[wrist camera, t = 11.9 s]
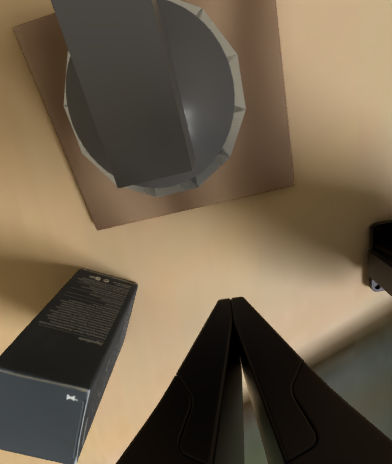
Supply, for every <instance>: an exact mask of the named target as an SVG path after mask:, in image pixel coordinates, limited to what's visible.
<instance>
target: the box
mask: <svg viewBox="0 0 392 464" xmlns="http://www.w3.org/2000/svg"><path fill="white" fill-rule="evenodd" d="M137 287H138V285H137V284H136V283H132V282H128V281H125V280H122V279H118V278H115V277H111V276H108V275H104V274H100V273H97V272H93V271H89V270H86V269H80V270H78V271H77V273H76V274H75V275H74V276H73V277H72V278H71V279H70V280H69V281H68V282H67V283H66V284H65V286H64V287H63V288H62V289H61V290H60V291H59V292H58V293H57V294H56V295H55V297H54V298H53V299H52V300H51V301H50V302H49V303H48V304H47V305H46V306H45V307H44V308H43V310H42V311H41V312H40V313H39V314H38V315H37V316H36V317H35V318H34V319H33V320H32V321H31V323H30V324H29V325H28V326H27V327H26V328H25V329H24V330H23V331H22V332H21V333H20V334H19V336H18V337H17V338H16V339H15V340H14V341H13V343H12V344H11V345H10V346H9V347H8V348H7V349H6V350H5V351H4V352H3V353H2V354H1V356H0V449H1V450H5V451H9V452H14V453H19V454H23V455H27V456H32V457H36V458H41V459H45V460H50V461H55V462H59V463H63V464H76V463H77V462H78V458H79V455H80V453H81V450H82V448H83V445H84V442H85V440H86V437H87V434H88V432H89V429H90V427H91V424H92V422H93V419H94V416H95V414H96V411H97V409H98V406H99V404H100V401H101V399H102V396H103V393H104V391H105V388H106V385H107V383H108V380H109V378H110V375H111V373H112V370H113V368H114V365H115V362H116V360H117V357H118V355H119V352H120V350H121V347H122V345H123V342H124V339H125V335H126V331H127V327H128V323H129V319H130V315H131V311H132V307H133V303H134V299H135V295H136V291H137Z"/></svg>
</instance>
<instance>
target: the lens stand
mask: <svg viewBox="0 0 392 464" xmlns="http://www.w3.org/2000/svg"><path fill="white" fill-rule="evenodd" d="M181 1H184V2H186V3H189V4H192V5H195V6H198V7H201V8H203V10H204V11H205V12H206V14H207V15H208V16H209V18H210V19H211V20H212V22H213V23H214V24H215V26H216V27H217V28H218V29H219V31H220V32H221V33H222V35H223V36H224V37H225V39H226V40H227V41H228V43H229V44H230V45H231V47H232V48H233V49H234V51H235V52H236V53H237V54H238V62H239V68H240V75H241V81H242V87H243V94H244V100H245V107H246V111H245V114H244V117H243V120H242V123H241V126H240V129H239V132H238V135H237V138H236V141H235V144H234V147H233V150H232V153H231V156H230V158H229V159H228V160H227V161H226V162H225V163H223V164H222V165H221V166H220V167H219V168H218V169H217V170H216V171H215V172H214V173H213V174H212V175H211V176H210V177H209V178H208V179H207V180H205V181H204V182H203V183H202V184H201V185H200V186H199V187H198V188H194V189H190V190H186V191H182V192H178V193H173V194H169V195H165V196H161V197H155V196H151V195H148V194H144V193H141V192H137V191H134V190H130V189H127V188H124V187H123V188H118V187H117V186H116V185H115V184H114V183H113V182H112V181H111V180H110V179H109V178H108V177H107V176H106V175H105V174H104V173H103V172H102V171H100V170H99V169H98V168H97V167H96V166H95V165H94V164H93V163H92V162H91V161H90V160H89V159H88V158H87V157H86V156H85V155H83V154H82V151H81V149H80V146H79V144H78V141H77V139H76V136H75V134H74V131H73V128H72V126H71V123H70V121H69V118H68V116H67V113H66V111H65V108H64V106H63V105H64V94H65V81H66V69H67V56H68V51H69V50H68V47H67V44H66V41H65V39H64V36H63V33H62V30H61V27H60V25H59V22H58V19H57V16H56V13H53V14H50V15H48V16H45V17H42V18H39V19H36V20H33V21H30V22H27V23H24V24H21V25H19V26H16V27H13V30H14V32H15V35H16V37H17V39H18V42H19V44H20V47H21V49H22V51H23V54H24V56H25V59H26V61H27V63H28V66H29V68H30V71H31V73H32V75H33V78H34V80H35V83H36V85H37V87H38V90H39V92H40V95H41V97H42V99H43V102H44V104H45V107H46V109H47V111H48V114H49V116H50V118H51V121H52V123H53V126H54V128H55V130H56V133H57V135H58V138H59V140H60V142H61V145H62V147H63V150H64V152H65V154H66V157H67V159H68V162H69V164H70V166H71V169H72V171H73V174H74V176H75V178H76V181H77V183H78V186H79V188H80V190H81V193H82V195H83V197H84V200H85V202H86V205H87V207H88V209H89V212H90V214H91V217H92V219H93V221H94V224H95V226H96V229H97V230H101V229H106V228H110V227H115V226H119V225H123V224H128V223H132V222H136V221H141V220H145V219H150V218H154V217H158V216H163V215H167V214H171V213H176V212H180V211H185V210H189V209H193V208H198V207H202V206H207V205H211V204H215V203H220V202H224V201H228V200H233V199H237V198H242V197H246V196H250V195H255V194H259V193H263V192H268V191H272V190H277V189H281V188H285V187H290V186H294V175H293V165H292V155H291V146H290V136H289V126H288V116H287V106H286V96H285V86H284V77H283V67H282V57H281V47H280V37H279V27H278V17H277V7H276V0H181Z"/></svg>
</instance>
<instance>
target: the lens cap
mask: <svg viewBox="0 0 392 464" xmlns="http://www.w3.org/2000/svg"><path fill="white" fill-rule="evenodd" d="M51 2H52V5H53V8H54V11H55V13H56V16H57V19H58V22H59V25H60V27H61V30H62V33H63V36H64V39H65V41H66V44H67V47H68V50H69V53H70V58H69V62H68V66H67V73H66V100H67V106H68V111H69V115H70V118H71V121H72V124H73V127H74V129H75V132H76V134H77V136H78V138H79V140H80V141H81V143H82V145H83V146H84V148H85V149H86V150H87V152H88V153H89V154H90V156H91V157H92V158H93V159H94V160H95V161H96V162H97V163H98V164H99V165H100V166H101V167H102V168H103V169H105V170H106V171H107V172H109V173H110V174H112V175H113V176H114V179H115V182H116V185H117V187H118V188H123V187H127V186H131V185H136V186H140V187H147V188H165V187H171V186H175V185H178V184H181V183H184V182H186V181H188V180H190V179H192V178H194V177H195V176H197V175H198V174H200V173H201V172H202V171H203V170H205V169H206V168H207V167H208V166H209V165H210V164H211V163H212V161H213V160H214V159H215V158H216V156H217V155H218V154H219V152H220V151H221V149H222V147H223V145H224V143H225V141H226V139H227V136H228V134H229V131H230V128H231V124H232V120H233V114H234V106H235V92H234V82H233V77H232V73H231V68H230V66H229V63H228V60H227V57H226V55H225V53H224V51H223V49H222V47H221V45H220V43H219V41H218V40H217V38H216V37H215V35H214V34H213V32H212V31H211V30H210V29H209V28H208V27H207V26H206V24H205V23H204V22H203V21H201V20H200V19H199V18H198V17H197V16H196V15H195V14H193V13H192V12H190V11H189V10H187V9H186V8H184V7H182V6H180V5H178V4H176V3H173V2H171V1H168V0H51Z"/></svg>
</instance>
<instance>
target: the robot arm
mask: <svg viewBox="0 0 392 464" xmlns="http://www.w3.org/2000/svg"><path fill="white" fill-rule="evenodd" d="M377 228H379V230H378V231H376V229H377ZM368 276H369V287H370V288H371V289H372V290H373V291H375V292H378V291H384V290H385V291H386V292H387V293H388V294H390V295H391V296H392V220H388V221H383V222H378V223H375V224H373V225H372V226H371V227H370V245H369V250H368ZM376 285H377V286H376ZM375 286H376V287H375ZM241 364H242V367H241ZM242 369H243V373H244V377H245V380H246V384H247V388H248V391H249V395H250V399H251V402H252V406H253V410H254V413H255V417H256V420H257V424H258V428H259V431H260V435H261V439H262V442H263V446H264V450H265V453H266V457H267V461H268V464H392V441H391V440H390V439H389V438H388V437H387V436H386V435H384V434H383V433H382V432H381V431H380V430H379V429H377V428H376V427H375V426H374V425H373V424H372V423H370V422H369V421H368V420H367V419H366V418H365V417H363V416H362V415H361V414H360V413H359V412H358V411H356V410H355V409H354V408H353V407H352V406H351V405H349V404H348V403H347V402H346V401H345V400H344V399H343V398H342V397H340V396H339V395H338V394H337V393H336V392H335V391H334V390H333V389H331V388H330V387H329V386H328V385H327V384H326V383H325V382H324V381H323V380H322V379H321V378H320V377H319V376H318V375H317V374H316V373H315V372H314V371H313V370H312V369H311V367H310V366H309V365H308V364H307V363H305V362H304V360H303V359H302V358H301V357H300V356H299V355H298V354H297V353H296V352H295V351H294V350H293V349H292V348H291V347H290V346H289V345H288V343H287V342H286V341H285V340H284V339H283V338H282V337H281V336H280V335H279V334H278V333H277V332H276V331H275V330H274V329H273V328H272V327H271V326H270V325H269V324H268V323H267V321H266V320H265V319H264V318H263V317H262V316H261V315H260V314H259V313H258V312H257V311H256V310H255V309H254V308H253V307H252V306H251V305H250V304H249V303H248V302H247V300H246V299H245V298H244V297H235V298H232V299H231V300H230V299H229V298H228V299H221V300H218V302H217V304H216V305H215V307H214V309H213V311H212V312H211V314H210V316H209V318H208V319H207V321H206V323H205V325H204V326H203V328H202V330H201V332H200V333H199V335H198V337H197V338H196V340H195V342H194V344H193V345H192V347H191V349H190V351H189V352H188V354H187V356H186V358H185V359H184V361H183V363H182V365H181V366H180V368H179V370H178V372H177V373H176V375H177V376H175V377H174V378H173V380H172V382H171V384H170V385H169V387H168V389H167V390H166V392H165V394H164V395H163V397H162V399H161V400H160V402H159V403H158V405H157V406H156V408H155V409H154V411H153V412H152V414H151V415H150V417H149V418H148V420H147V421H146V422H145V424H144V425H143V427H142V428H141V429H140V431H139V432H138V434H137V435H136V436H135V438H134V439H133V441H132V442H131V443H130V445H129V446H128V447H127V449H126V450H125V452H124V453H123V454H122V456H121V457H120V459H119V460H118V461H117V463H116V464H244V430H243V395H242Z"/></svg>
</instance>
